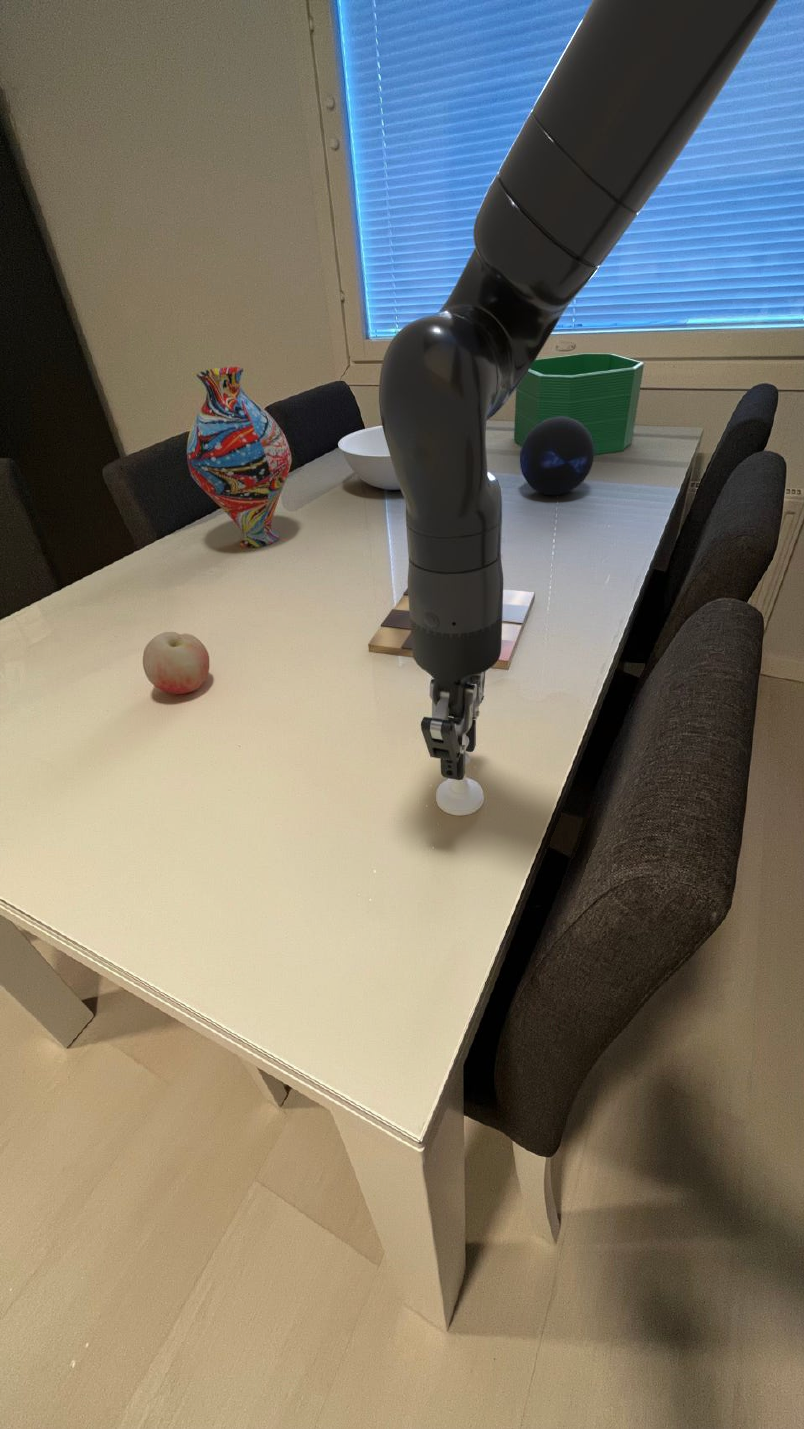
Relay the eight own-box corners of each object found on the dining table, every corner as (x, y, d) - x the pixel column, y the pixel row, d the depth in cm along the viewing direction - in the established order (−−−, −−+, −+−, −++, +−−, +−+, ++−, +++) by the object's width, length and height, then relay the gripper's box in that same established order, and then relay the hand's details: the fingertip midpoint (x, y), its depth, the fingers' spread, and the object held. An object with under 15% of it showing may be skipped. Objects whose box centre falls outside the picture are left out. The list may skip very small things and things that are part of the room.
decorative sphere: (508, 487, 135) (511, 414, 126) (572, 478, 137) (579, 405, 127) (532, 509, 123) (537, 431, 114) (601, 499, 125) (612, 421, 116)
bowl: (321, 496, 140) (314, 451, 133) (381, 461, 157) (377, 420, 151) (425, 509, 128) (422, 460, 122) (477, 470, 146) (477, 426, 140)
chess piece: (486, 784, 64) (488, 710, 57) (479, 818, 60) (480, 744, 54) (441, 778, 65) (437, 705, 59) (431, 812, 61) (426, 738, 55)
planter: (642, 448, 150) (656, 365, 138) (543, 462, 147) (549, 379, 135) (594, 424, 170) (603, 350, 158) (506, 437, 167) (509, 362, 155)
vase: (270, 515, 132) (237, 358, 114) (323, 534, 121) (296, 364, 103) (194, 543, 123) (144, 377, 104) (244, 567, 111) (198, 386, 93)
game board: (534, 599, 94) (535, 590, 93) (507, 669, 80) (508, 661, 79) (413, 587, 100) (413, 579, 99) (368, 651, 86) (367, 643, 85)
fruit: (200, 706, 78) (182, 654, 73) (145, 703, 80) (123, 652, 75) (224, 671, 85) (209, 621, 80) (172, 669, 86) (154, 620, 81)
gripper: (479, 659, 42) (478, 823, 53) (519, 571, 52) (511, 723, 63) (380, 646, 45) (398, 805, 55) (436, 565, 55) (442, 712, 65)
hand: (458, 761), depth 59 cm, fingers open, 3 cm apart
